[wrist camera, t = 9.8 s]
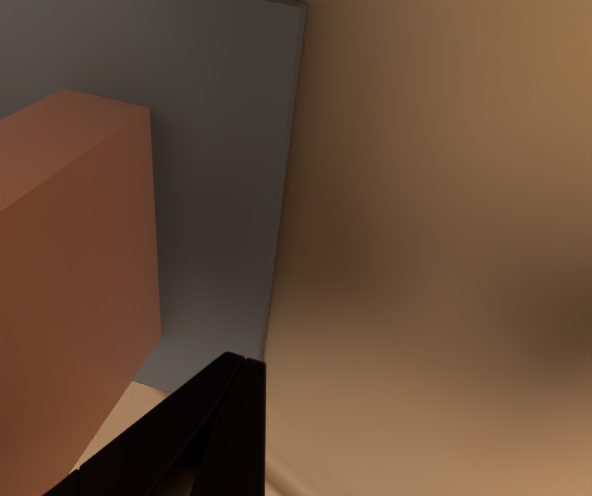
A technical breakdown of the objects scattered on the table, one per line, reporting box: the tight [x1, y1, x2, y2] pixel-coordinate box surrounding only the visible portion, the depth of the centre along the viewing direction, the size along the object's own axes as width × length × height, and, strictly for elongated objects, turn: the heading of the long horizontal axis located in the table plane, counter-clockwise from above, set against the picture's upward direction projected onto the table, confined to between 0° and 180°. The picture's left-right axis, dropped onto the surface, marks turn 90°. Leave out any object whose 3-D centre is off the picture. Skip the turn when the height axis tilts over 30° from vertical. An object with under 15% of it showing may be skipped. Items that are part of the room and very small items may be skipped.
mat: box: [0, 0, 308, 393], centre depth 13 cm, size 12×13×1 cm
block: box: [0, 88, 161, 496], centre depth 11 cm, size 7×2×6 cm, turn 173°
